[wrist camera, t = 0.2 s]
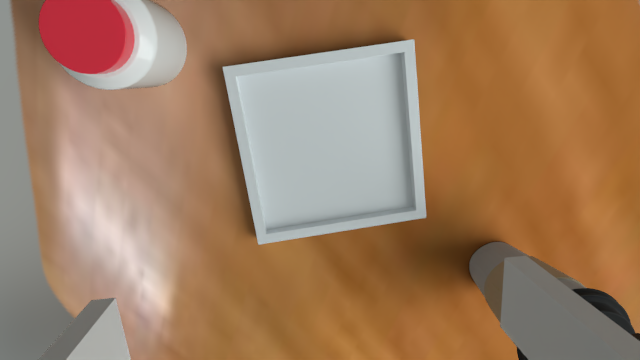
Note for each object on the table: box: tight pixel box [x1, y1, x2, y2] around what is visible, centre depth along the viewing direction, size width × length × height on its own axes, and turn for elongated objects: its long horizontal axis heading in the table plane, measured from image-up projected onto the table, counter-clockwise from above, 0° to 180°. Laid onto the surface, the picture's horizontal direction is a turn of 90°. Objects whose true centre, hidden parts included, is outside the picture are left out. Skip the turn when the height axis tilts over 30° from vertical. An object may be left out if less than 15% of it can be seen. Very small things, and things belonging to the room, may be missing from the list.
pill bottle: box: [39, 0, 187, 90], centre depth 30 cm, size 8×8×11 cm
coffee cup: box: [469, 242, 635, 360], centre depth 37 cm, size 9×9×15 cm
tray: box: [223, 39, 426, 245], centre depth 38 cm, size 18×18×2 cm
